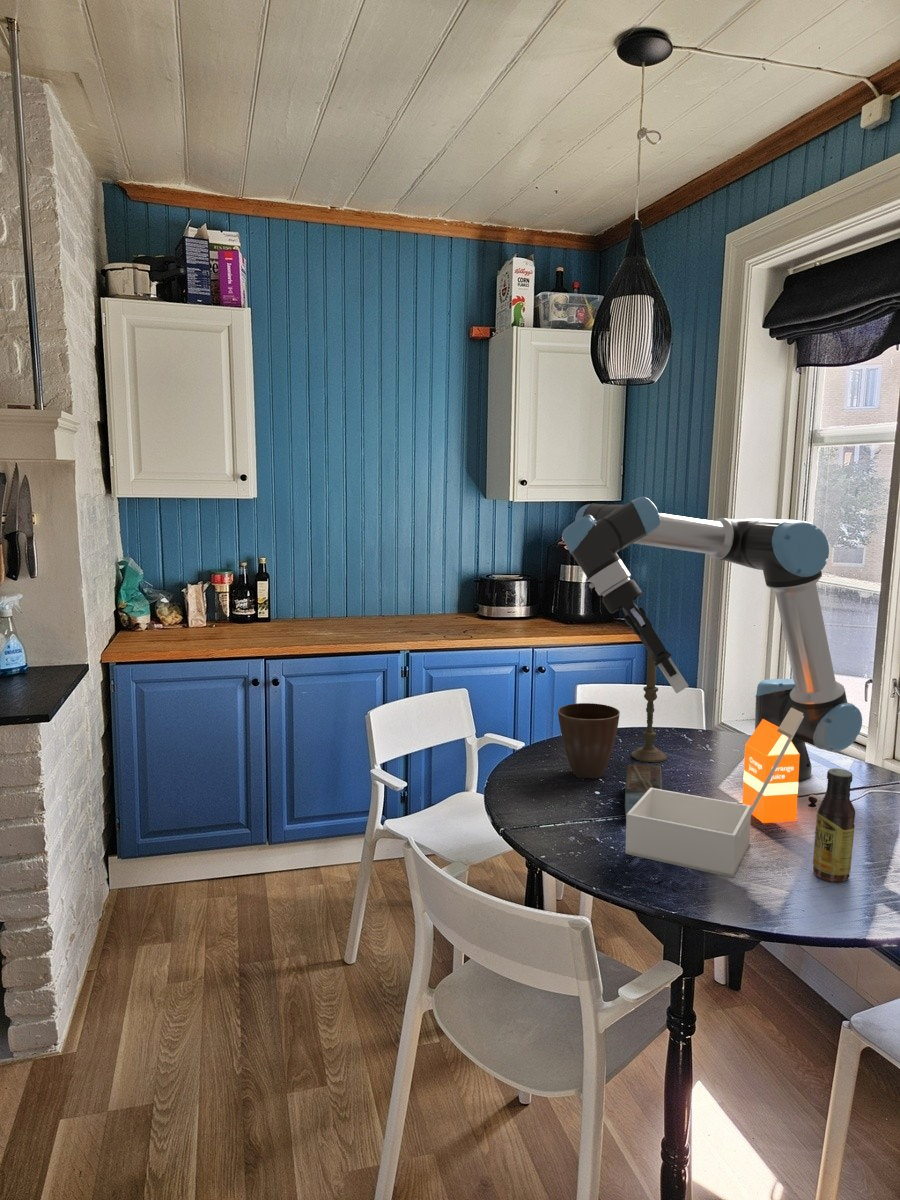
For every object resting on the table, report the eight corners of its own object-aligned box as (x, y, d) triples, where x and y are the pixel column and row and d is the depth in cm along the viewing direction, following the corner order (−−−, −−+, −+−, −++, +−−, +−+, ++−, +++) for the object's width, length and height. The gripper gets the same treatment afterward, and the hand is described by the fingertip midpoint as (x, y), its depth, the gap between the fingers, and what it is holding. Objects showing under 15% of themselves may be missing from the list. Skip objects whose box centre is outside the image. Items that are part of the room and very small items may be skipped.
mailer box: (625, 853, 157) (626, 814, 156) (649, 824, 171) (650, 787, 170) (733, 877, 147) (734, 835, 146) (749, 844, 161) (751, 805, 160)
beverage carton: (623, 818, 174) (623, 789, 173) (626, 787, 193) (627, 760, 192) (661, 822, 172) (662, 792, 172) (661, 790, 191) (661, 763, 190)
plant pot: (577, 788, 191) (579, 722, 189) (545, 768, 205) (546, 706, 203) (630, 779, 197) (632, 715, 195) (596, 760, 211) (597, 700, 209)
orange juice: (762, 823, 171) (767, 731, 168) (741, 807, 180) (745, 719, 177) (797, 820, 172) (802, 729, 170) (774, 804, 181) (778, 717, 178)
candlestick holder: (670, 762, 209) (674, 647, 205) (635, 762, 209) (638, 647, 205) (662, 751, 218) (665, 641, 214) (627, 751, 218) (630, 641, 214)
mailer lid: (777, 729, 140) (793, 737, 139) (791, 706, 154) (805, 713, 153) (725, 828, 147) (739, 836, 145) (743, 798, 161) (756, 805, 160)
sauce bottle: (805, 868, 151) (811, 765, 148) (838, 867, 151) (844, 764, 148) (824, 885, 144) (831, 778, 141) (858, 884, 145) (865, 776, 142)
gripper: (599, 599, 169) (662, 697, 166) (601, 595, 156) (669, 701, 153) (630, 580, 168) (694, 678, 165) (634, 574, 155) (704, 681, 152)
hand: (682, 689), depth 159 cm, fingers closed
